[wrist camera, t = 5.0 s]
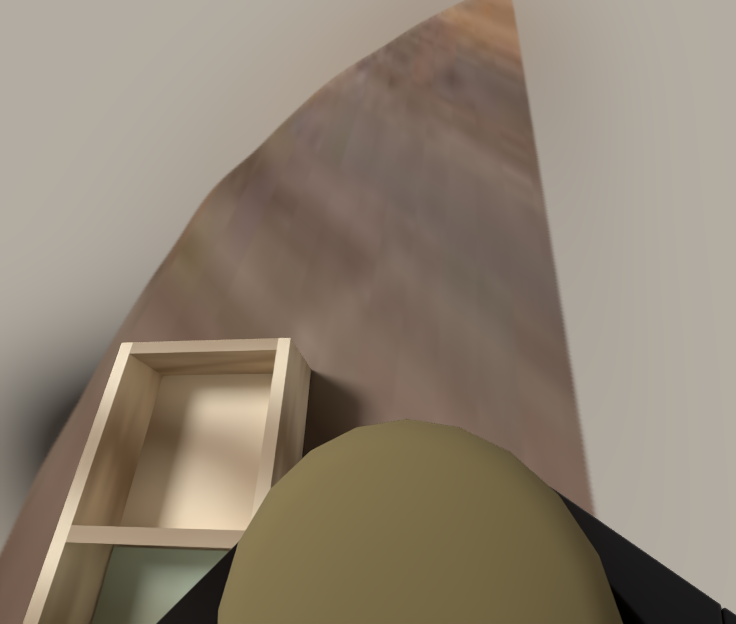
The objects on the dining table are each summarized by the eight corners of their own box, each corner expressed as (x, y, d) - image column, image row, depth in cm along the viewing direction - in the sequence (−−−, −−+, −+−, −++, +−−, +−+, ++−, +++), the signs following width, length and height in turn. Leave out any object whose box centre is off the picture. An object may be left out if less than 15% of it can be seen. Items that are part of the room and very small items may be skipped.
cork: (299, 550, 15) (62, 544, 5) (436, 446, 16) (446, 286, 6) (402, 755, 12) (292, 1597, 2) (560, 609, 13) (924, 767, 3)
